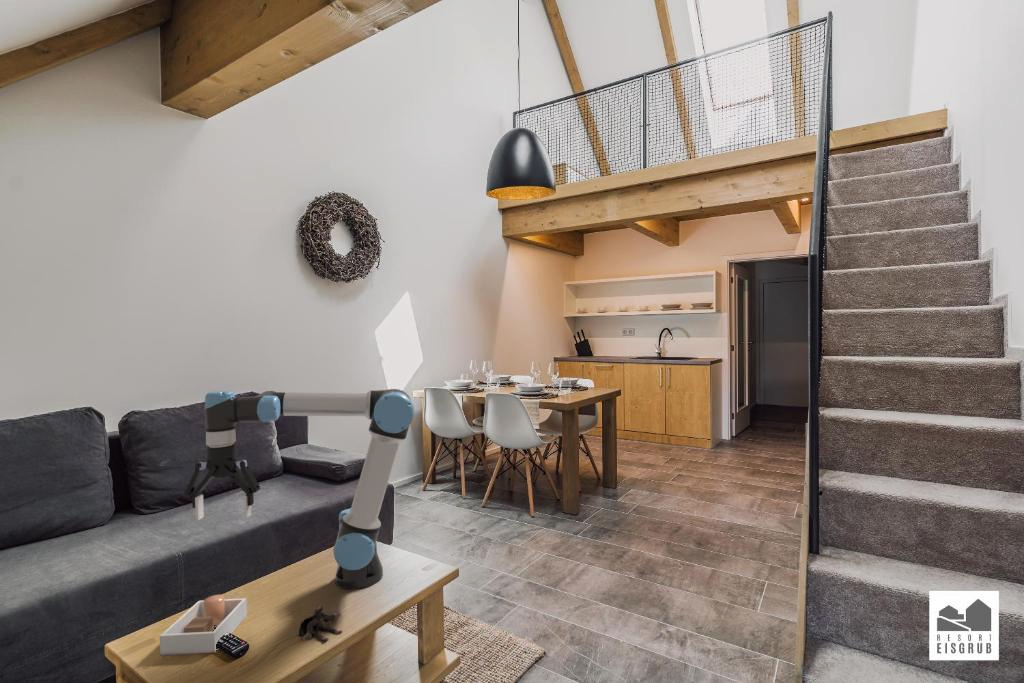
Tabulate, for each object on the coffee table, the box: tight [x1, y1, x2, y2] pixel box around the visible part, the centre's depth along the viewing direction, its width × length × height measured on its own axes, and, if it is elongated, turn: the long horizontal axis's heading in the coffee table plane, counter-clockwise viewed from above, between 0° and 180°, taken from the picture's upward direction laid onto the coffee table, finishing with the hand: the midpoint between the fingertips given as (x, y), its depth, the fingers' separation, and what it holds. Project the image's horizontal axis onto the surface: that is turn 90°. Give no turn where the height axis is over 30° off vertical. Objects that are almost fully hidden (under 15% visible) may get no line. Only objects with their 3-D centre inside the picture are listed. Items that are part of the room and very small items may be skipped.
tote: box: [159, 597, 248, 656], centre depth 140 cm, size 14×18×5 cm
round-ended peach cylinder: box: [203, 594, 225, 625], centre depth 145 cm, size 5×5×7 cm
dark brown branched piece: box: [298, 606, 343, 642], centre depth 142 cm, size 12×10×12 cm
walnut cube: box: [184, 616, 214, 633], centre depth 136 cm, size 5×5×5 cm
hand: (223, 517), depth 149 cm, fingers open, 13 cm apart
